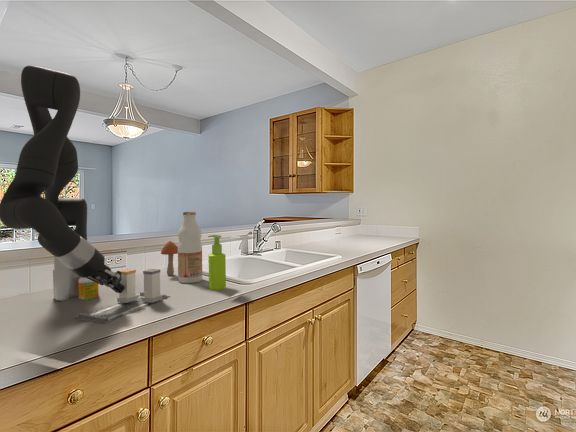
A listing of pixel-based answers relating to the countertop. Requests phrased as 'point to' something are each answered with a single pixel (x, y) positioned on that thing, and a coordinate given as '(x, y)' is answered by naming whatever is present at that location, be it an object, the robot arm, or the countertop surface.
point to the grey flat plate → (117, 310)
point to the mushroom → (170, 255)
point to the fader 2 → (151, 285)
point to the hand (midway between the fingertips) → (121, 290)
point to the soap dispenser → (217, 266)
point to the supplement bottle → (88, 289)
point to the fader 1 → (128, 286)
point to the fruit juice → (189, 250)
